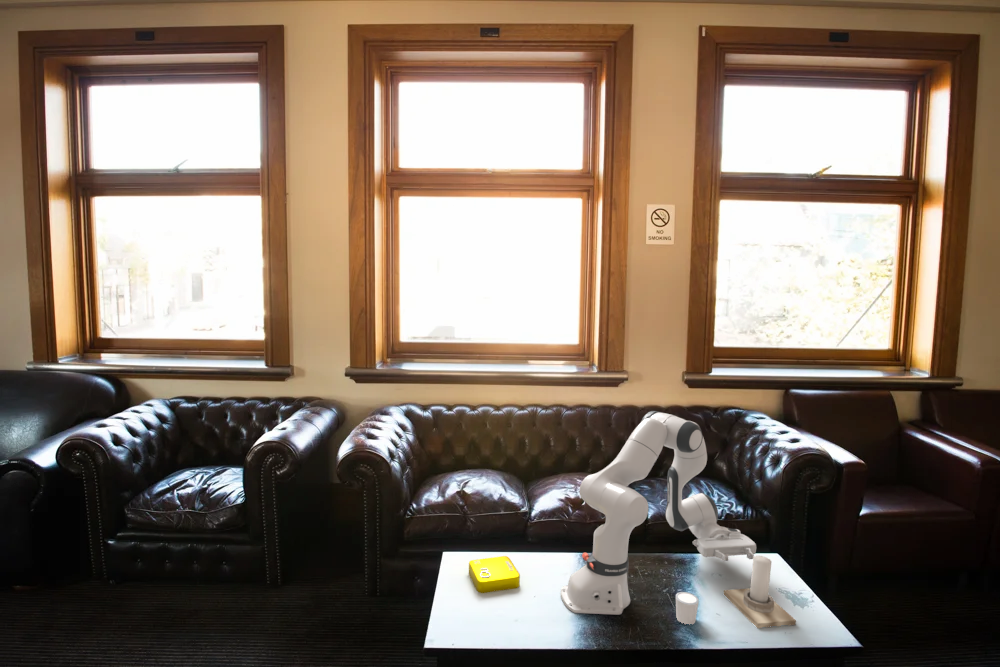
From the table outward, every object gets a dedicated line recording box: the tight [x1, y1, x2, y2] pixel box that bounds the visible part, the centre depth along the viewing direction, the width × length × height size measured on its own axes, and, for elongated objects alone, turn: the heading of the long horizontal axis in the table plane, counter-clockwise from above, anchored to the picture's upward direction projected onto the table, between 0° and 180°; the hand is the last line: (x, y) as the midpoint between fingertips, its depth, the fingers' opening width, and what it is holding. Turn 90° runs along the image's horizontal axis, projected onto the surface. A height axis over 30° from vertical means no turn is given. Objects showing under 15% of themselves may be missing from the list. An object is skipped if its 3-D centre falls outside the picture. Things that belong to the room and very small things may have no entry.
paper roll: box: [750, 555, 772, 603], centre depth 175 cm, size 5×5×15 cm
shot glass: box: [675, 591, 700, 626], centre depth 169 cm, size 7×7×7 cm
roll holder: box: [723, 587, 797, 629], centre depth 176 cm, size 13×18×4 cm
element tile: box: [468, 555, 521, 594], centre depth 189 cm, size 15×15×5 cm
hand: (739, 558), depth 186 cm, fingers open, 8 cm apart
